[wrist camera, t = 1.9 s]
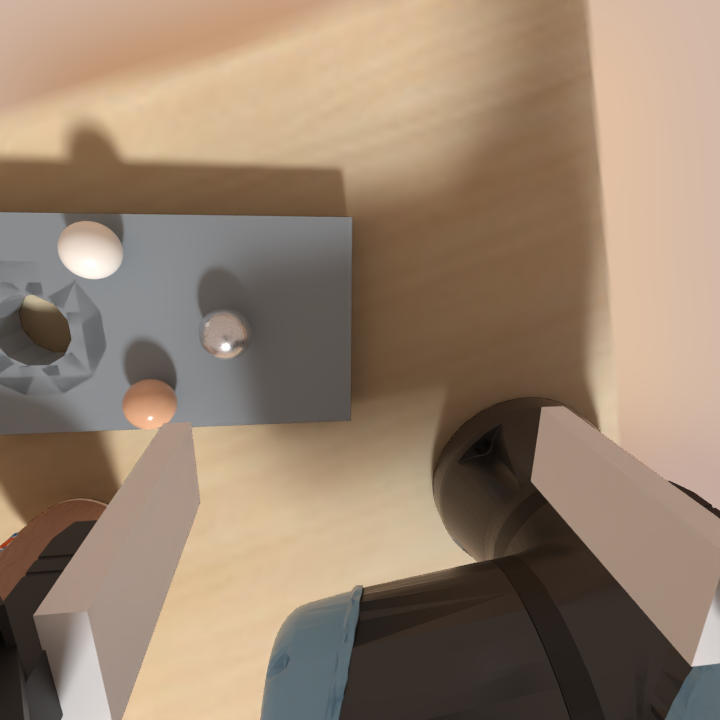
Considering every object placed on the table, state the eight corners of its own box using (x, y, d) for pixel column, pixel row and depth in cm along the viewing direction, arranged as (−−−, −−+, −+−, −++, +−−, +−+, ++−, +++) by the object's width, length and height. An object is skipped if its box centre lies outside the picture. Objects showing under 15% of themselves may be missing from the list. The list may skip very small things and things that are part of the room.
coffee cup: (18, 468, 33) (-130, 597, 22) (161, 489, 35) (94, 618, 24) (11, 577, 36) (-123, 743, 25) (145, 591, 38) (77, 751, 27)
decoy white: (127, 221, 26) (104, 221, 23) (135, 275, 27) (114, 282, 24) (69, 220, 26) (39, 220, 23) (79, 275, 27) (51, 282, 24)
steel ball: (253, 303, 29) (247, 313, 26) (256, 350, 30) (250, 366, 27) (202, 304, 28) (189, 314, 25) (206, 351, 29) (195, 367, 26)
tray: (347, 217, 31) (354, 217, 26) (346, 404, 35) (352, 429, 31) (-70, 211, 28) (-138, 210, 23) (-15, 417, 32) (-64, 448, 28)
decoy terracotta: (180, 371, 29) (166, 388, 26) (185, 415, 30) (172, 437, 27) (129, 372, 29) (109, 390, 26) (136, 417, 30) (117, 439, 27)
